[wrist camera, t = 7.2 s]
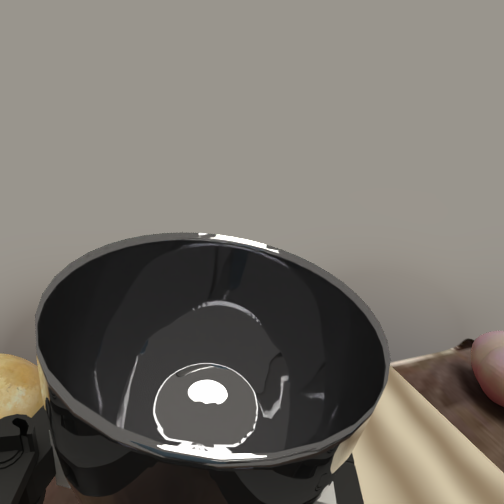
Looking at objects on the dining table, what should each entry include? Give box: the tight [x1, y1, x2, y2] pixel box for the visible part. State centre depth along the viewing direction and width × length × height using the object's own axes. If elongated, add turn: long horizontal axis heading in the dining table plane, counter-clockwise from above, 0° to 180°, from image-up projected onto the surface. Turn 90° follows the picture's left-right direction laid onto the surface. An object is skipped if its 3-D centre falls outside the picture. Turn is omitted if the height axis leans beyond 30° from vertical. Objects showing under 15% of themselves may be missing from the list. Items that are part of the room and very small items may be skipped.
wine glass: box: [35, 233, 391, 504], centre depth 9 cm, size 8×8×15 cm
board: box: [352, 366, 504, 504], centre depth 20 cm, size 18×18×2 cm
